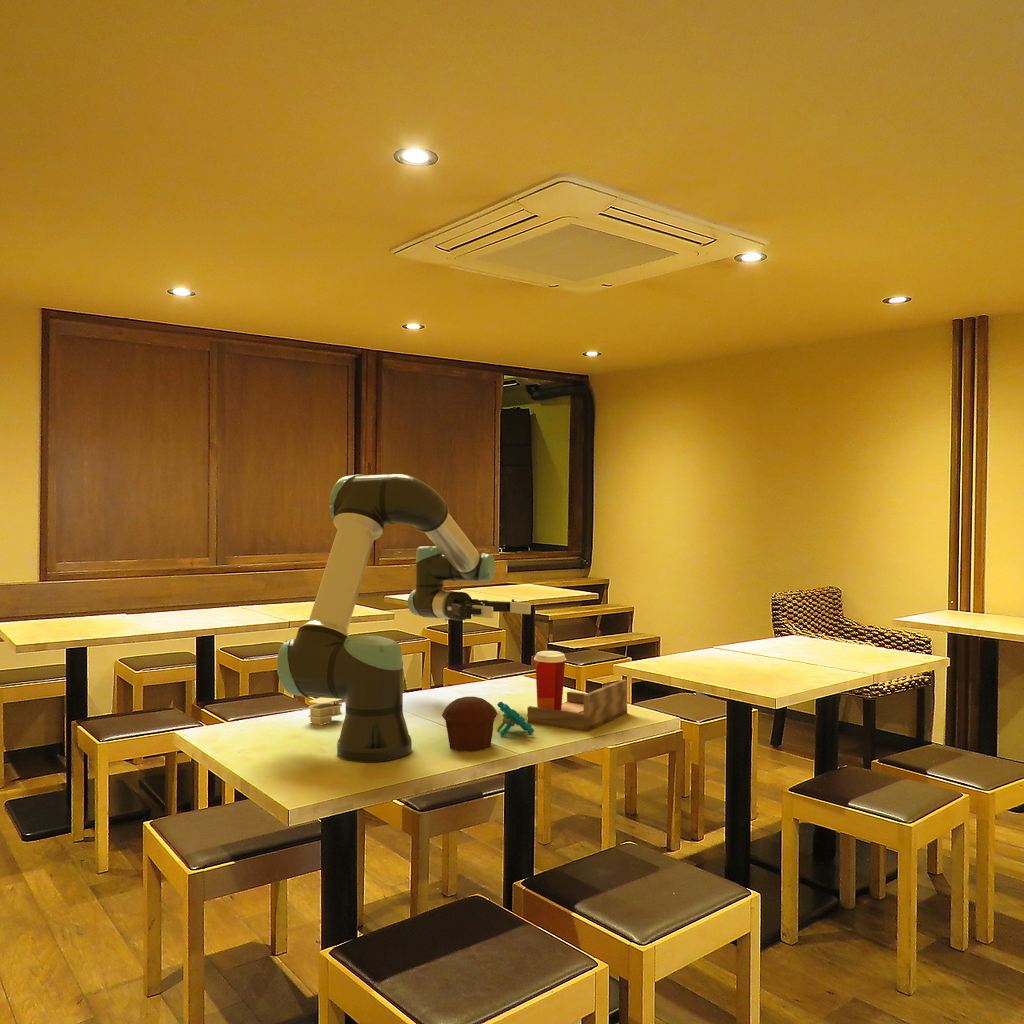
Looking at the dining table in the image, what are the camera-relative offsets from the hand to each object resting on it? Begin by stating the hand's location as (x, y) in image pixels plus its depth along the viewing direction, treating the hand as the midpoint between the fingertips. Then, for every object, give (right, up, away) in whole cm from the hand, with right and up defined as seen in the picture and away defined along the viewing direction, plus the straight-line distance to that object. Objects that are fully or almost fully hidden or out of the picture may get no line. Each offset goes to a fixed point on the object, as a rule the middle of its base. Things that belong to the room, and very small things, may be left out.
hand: (511, 610), depth 213 cm
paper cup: (+9, -23, -9) cm, 27 cm away
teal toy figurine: (+1, -25, -24) cm, 34 cm away
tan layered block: (-44, -25, -11) cm, 52 cm away
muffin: (-9, -25, -33) cm, 42 cm away
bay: (+16, -24, -10) cm, 31 cm away
